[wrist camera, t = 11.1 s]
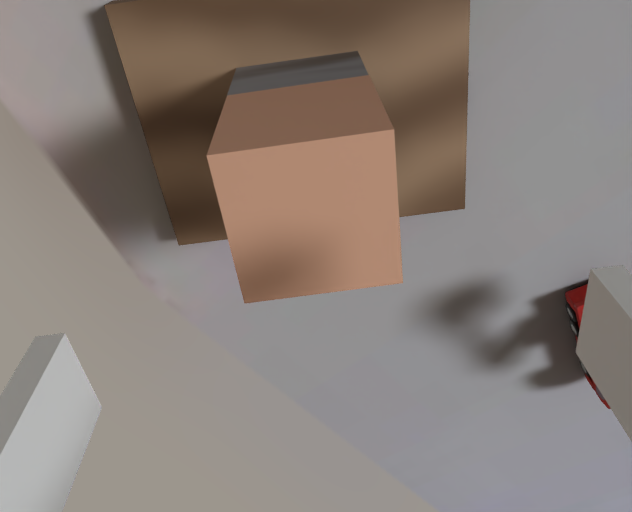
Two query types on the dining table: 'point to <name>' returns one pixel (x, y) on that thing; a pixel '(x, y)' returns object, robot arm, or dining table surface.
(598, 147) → the dining table surface
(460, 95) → the board
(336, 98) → the terracotta brick
